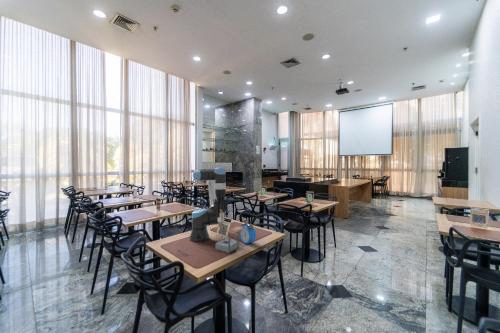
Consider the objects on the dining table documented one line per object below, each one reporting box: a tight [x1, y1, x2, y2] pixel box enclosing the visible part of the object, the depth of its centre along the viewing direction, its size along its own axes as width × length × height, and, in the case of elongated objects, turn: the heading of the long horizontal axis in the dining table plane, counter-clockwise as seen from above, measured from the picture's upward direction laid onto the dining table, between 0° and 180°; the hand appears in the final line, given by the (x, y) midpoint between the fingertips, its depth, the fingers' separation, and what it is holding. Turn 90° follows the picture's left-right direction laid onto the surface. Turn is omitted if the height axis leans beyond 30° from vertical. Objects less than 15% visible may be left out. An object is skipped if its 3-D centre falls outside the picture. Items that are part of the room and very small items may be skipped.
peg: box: [218, 210, 224, 228], centre depth 154 cm, size 3×3×12 cm
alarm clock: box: [239, 221, 257, 245], centre depth 164 cm, size 13×6×15 cm, turn 41°
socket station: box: [214, 226, 243, 254], centre depth 153 cm, size 16×12×15 cm
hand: (220, 221), depth 154 cm, fingers closed on peg, 2 cm apart
